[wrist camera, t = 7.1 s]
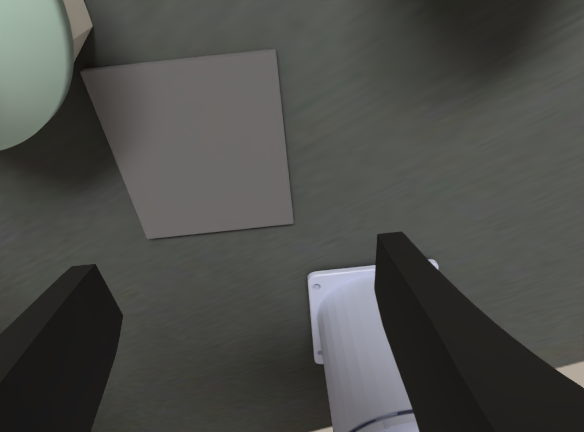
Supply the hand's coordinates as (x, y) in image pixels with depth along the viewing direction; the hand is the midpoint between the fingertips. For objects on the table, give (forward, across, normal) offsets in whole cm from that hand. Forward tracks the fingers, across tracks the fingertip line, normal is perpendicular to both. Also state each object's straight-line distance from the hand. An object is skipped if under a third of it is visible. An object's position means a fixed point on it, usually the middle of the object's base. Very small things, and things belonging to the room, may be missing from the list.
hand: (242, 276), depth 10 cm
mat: (+10, +2, +2) cm, 10 cm away
